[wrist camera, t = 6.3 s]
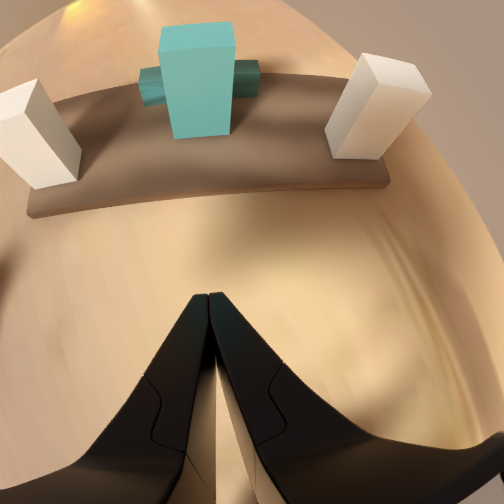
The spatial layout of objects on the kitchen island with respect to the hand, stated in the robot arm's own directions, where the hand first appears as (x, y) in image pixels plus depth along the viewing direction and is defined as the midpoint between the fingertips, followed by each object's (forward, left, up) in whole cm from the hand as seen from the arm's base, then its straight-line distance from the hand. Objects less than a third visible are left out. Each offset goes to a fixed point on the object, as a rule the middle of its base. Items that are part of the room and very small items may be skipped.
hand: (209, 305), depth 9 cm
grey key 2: (-1, +18, -11) cm, 21 cm away
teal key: (+10, +12, -11) cm, 19 cm away
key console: (+10, +12, -12) cm, 20 cm away
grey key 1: (+18, +2, -11) cm, 21 cm away
